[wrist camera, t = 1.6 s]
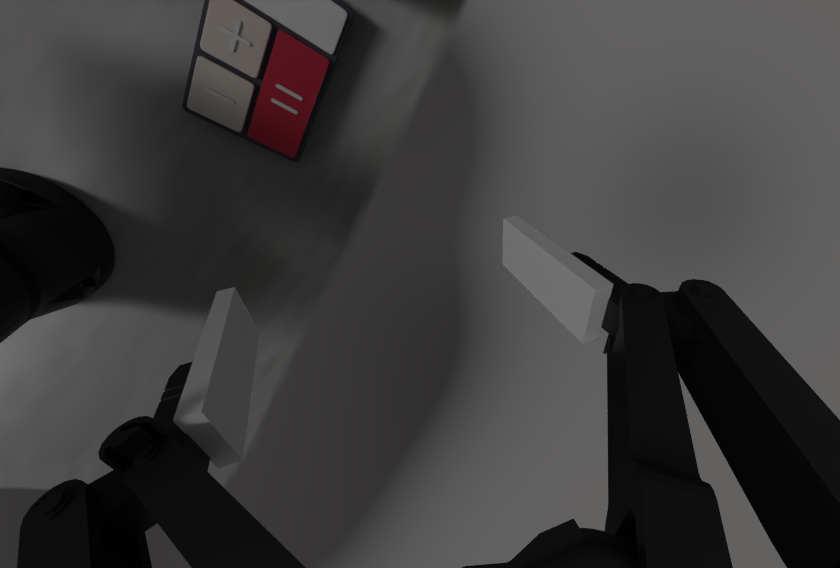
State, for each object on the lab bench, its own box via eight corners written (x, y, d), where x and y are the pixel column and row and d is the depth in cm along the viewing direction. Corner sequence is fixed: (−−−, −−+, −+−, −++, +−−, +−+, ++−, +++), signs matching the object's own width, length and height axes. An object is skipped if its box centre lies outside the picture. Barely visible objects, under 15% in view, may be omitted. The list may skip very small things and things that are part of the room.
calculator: (177, 110, 31) (219, -88, 25) (193, 105, 35) (233, -69, 29) (297, 166, 36) (355, 9, 30) (301, 157, 39) (353, 15, 33)
